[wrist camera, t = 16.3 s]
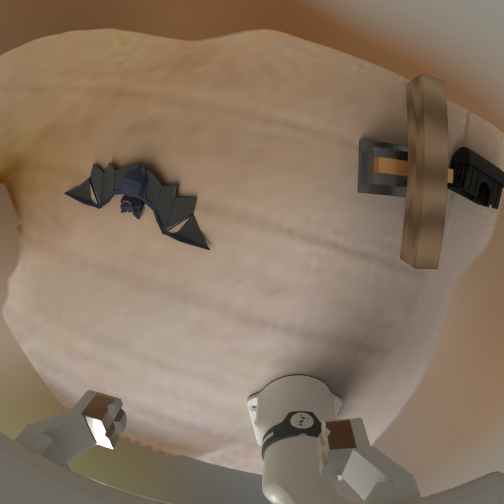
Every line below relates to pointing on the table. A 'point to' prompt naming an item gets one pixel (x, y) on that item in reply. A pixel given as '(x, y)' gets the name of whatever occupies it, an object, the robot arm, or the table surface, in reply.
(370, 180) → the fulcrum stand
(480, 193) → the end cap
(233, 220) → the table surface
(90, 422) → the robot arm
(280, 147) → the table surface
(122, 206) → the decorative bat
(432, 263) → the walnut beam
